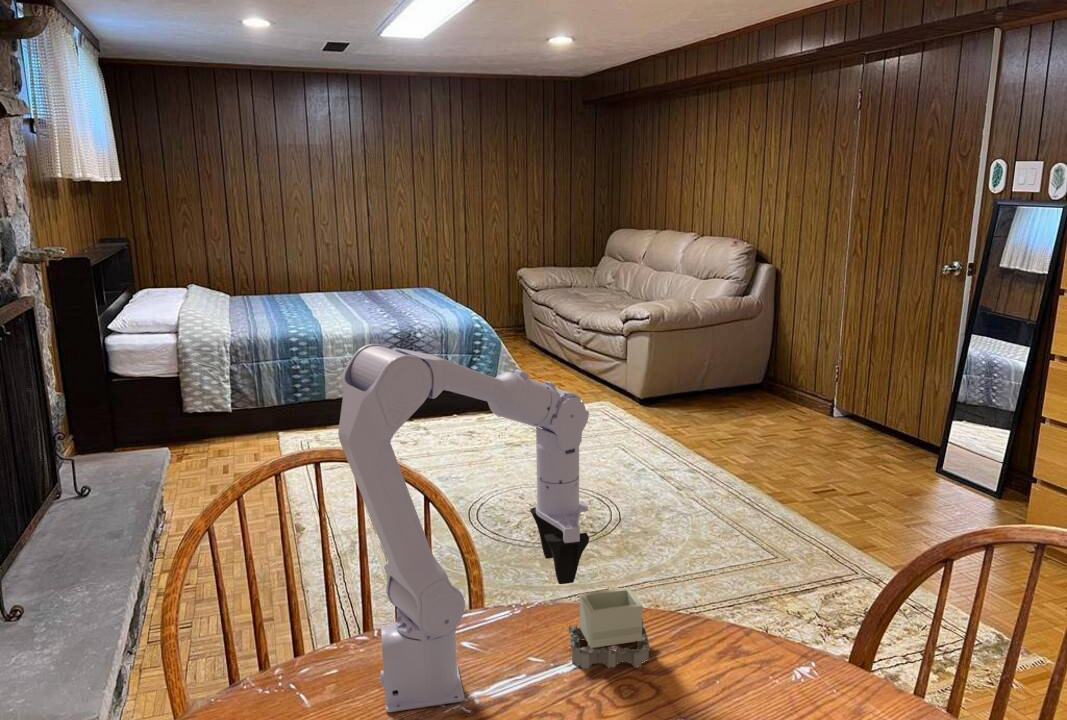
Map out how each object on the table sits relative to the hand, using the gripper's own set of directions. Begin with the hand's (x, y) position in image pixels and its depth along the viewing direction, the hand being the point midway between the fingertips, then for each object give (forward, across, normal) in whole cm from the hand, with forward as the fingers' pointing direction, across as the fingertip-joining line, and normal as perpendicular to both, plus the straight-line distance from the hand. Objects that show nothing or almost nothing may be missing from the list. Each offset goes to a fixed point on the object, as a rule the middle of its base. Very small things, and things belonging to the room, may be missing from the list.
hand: (558, 569), depth 109 cm
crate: (+7, -7, -5) cm, 11 cm away
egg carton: (+10, -6, -5) cm, 13 cm away
